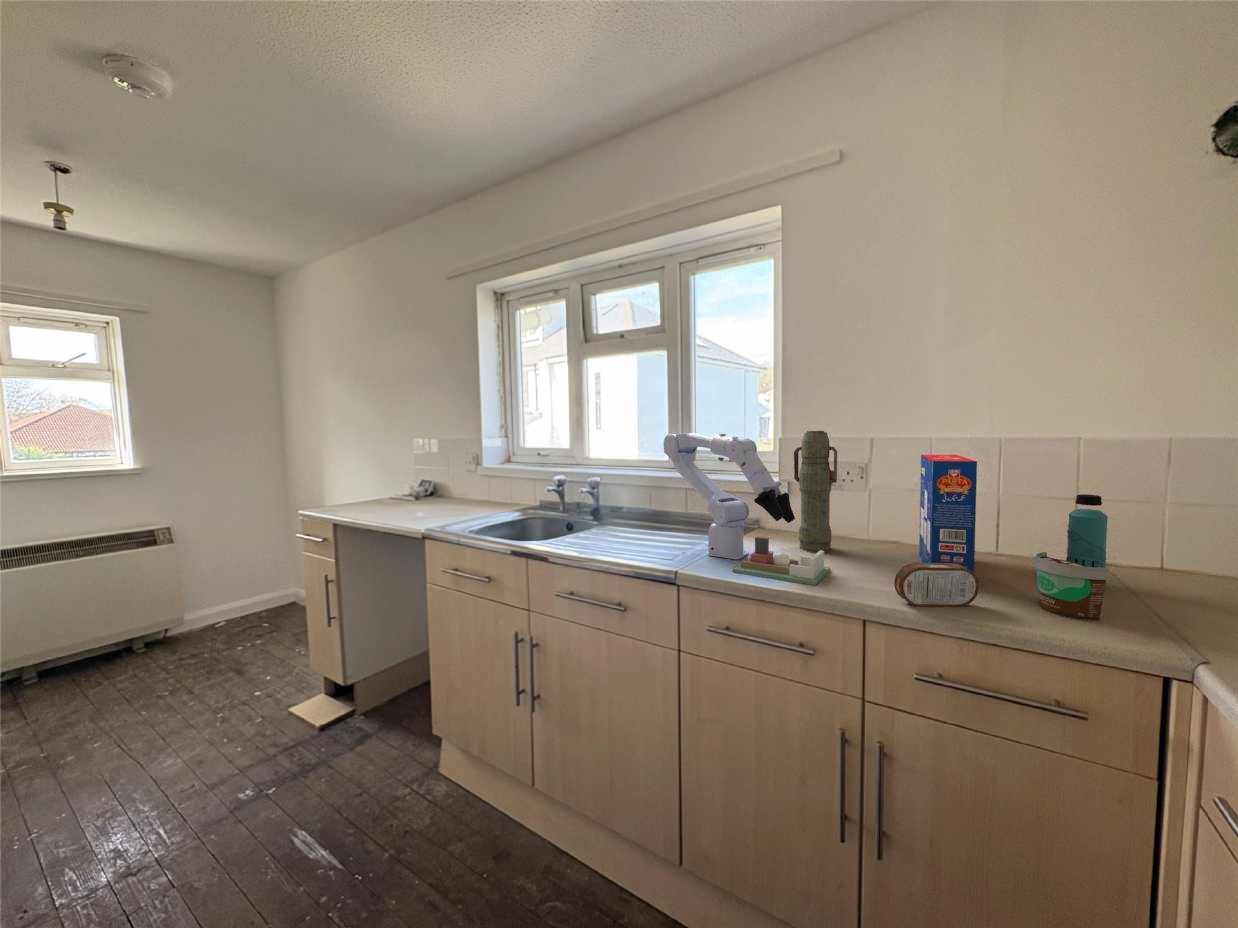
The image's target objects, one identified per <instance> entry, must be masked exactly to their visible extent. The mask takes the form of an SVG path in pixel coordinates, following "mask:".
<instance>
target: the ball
mask: <svg viewBox="0 0 1238 928" xmlns="http://www.w3.org/2000/svg"><path fill="white" fill-rule="evenodd" d="M790 559H791V558H790V557H789V555H788V554H787V553H785V552H781V551H780V552H777V553H775V554H773V563H774V564H775V565H778V566H785V567H787V566H788V565H789V563H790Z"/></svg>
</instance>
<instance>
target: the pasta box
mask: <svg viewBox="0 0 1238 928" xmlns="http://www.w3.org/2000/svg"><path fill="white" fill-rule="evenodd" d="M977 471H978V461H977V460H975V459H971V458H969V457H965V456H962V455H959V454H920V490H919V491H920V499H919V500H920V501H919V544H918V545H919V548H918V550H919V551H918V553H919V557H920V559H921V560H920V561H921V563H955V564H960V565H962V566H964V567H966V568H967V569H968V570H970V571H971V572H973V573H974V574H975V555H976V554H975V551H976V549H975V548H976V517H977V515H976V514H977V512H976V511H977V509H976V508H977V483H978V481H977V477H978V474H977V473H978V472H977Z"/></svg>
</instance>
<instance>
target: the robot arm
mask: <svg viewBox="0 0 1238 928" xmlns="http://www.w3.org/2000/svg"><path fill="white" fill-rule="evenodd" d="M698 448H704V449H710V451H711V453H712V454H713V455H718V456H722V457H725V458H728V459H729V460H730V461H732V462H734V463H735V464H736V466H738V467H739V468H740V470H741V472H742V473H743V475H744V477H745V478H746V479H747V482H748V483H749V485H750V486H751V488H752V491H753V492H754V494H755V496H756V497H755V498H754V500H753V501H754V503H756V504H757V505H759V506H760V507H761V508H763V509H764V511H766V512H767V513H768V515H770V517H772V519H774V520H775V521H776V522H778V521H780V520H782V519H783V520H784V521H785V522H786V523H787V524H789V523H791V522H793V521H794V520H796V517H795V515H794V512H793V509H792V506H791V502H790V494H789V493H788V492H784V493H783V492H782V491H781V490H780V486H781V485H782V483H783V482H782V481H780V480H779V481H775V480H774V478H773V477H772V475H771V473H770V472H769V471H768V469H767V467H766V466H765V464H764V462H763V461H762V460H761V458H760V456H759V455H758V454H757V452H758V451H757V449H758V448H757V445H756V443H755V441H754V440H752V439H750V438H744V439H740V438H739V437H738V436H735V435H734V436H727V434H726V433H718V434H716V435H714V436H713V437H711V436H707V435H705V434H704V435H703V434H701V433H698V432H697V433H691V432H688V433H674V434H673V433H667V434H666V435H665V436H664V439H663V453H664V454H665V455H666V456H667V457H668V458H669V459H670V461H671V462H672V464H673V467H674V468H675V470H676V471H677V473H679V475H681V477H682V478H683V479H684V480H685V481H686V482H688V484H690V486H691V487H692V488H693V489H695V491H696V492H697V493H698V494H699V495H700V496H701V497H702V498H703V499H704V500H705V501H706V502H707V503H708V505H707V512H709V514H710V516H711V518H712V520H713V522H714V523H711V524H710V525H709V528H708V534H707V535H708V538H707V540H708V542H707V543H708V544H707V545H708V552H707V556H710V557H711V556H712V557H716V558H723V559H724V558H725V559H733V560H740V559H742V558H744V557H745V556H747V555H749V552H748V551H745V550H744V525H745V524H746V520H747V519H748V518H749V515H750V508H749V506H748V504H747V502H746V501H745V500H743V499H741V498H740V499H739V498H737V497H736V496H735V495H733V494H730V493H727V492H725V491H723V489H721V488H720V487H719V486H718V485H717V484H716V483H715V482H714V481H713V480H712V479H711V478H710V477H709V476H708V475H707V474H706V473H705V472H704V471H703V470H702V469H701V468H699V466H697V465H696V464H695V463H694V462H695V461H696V457H697V451H698Z"/></svg>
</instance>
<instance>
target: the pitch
mask: <svg viewBox="0 0 1238 928" xmlns="http://www.w3.org/2000/svg"><path fill="white" fill-rule="evenodd" d="M789 559H790V563H789V565H790V564H792V565H799V566H800V562H799V559H793V558H789ZM789 565H788V566H787V567H785V566H778V565H775V564H774V563H773V564H764V563H758V562H751V561H750V558H748V559H747V560H744V559H743V560H741V561H740V563H739V564H738V565H736V566H735V567H734V568H732V573H736V572H737V574H742V575H743V574H744V575H748V576H754V577H763V578H766V579H772V580H773V579H774V580H778V581H787V582H791V581H792V582H793V583H799V584H804V583H806V584H805V585H810V584H811V585H812V586H817V585H816V584H817V583H818V582H819V583H820V582H821V580H823V579H824V577H826V575H828V573H829V572H830V571H831V566H830V567H829V566H824V569H823V570H822V571H821V572H820V573H819V574H818V575H817V576H816V577H815V578H814V579H810V578H804V577H797V576H791V575H789ZM811 585H810V586H811Z"/></svg>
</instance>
